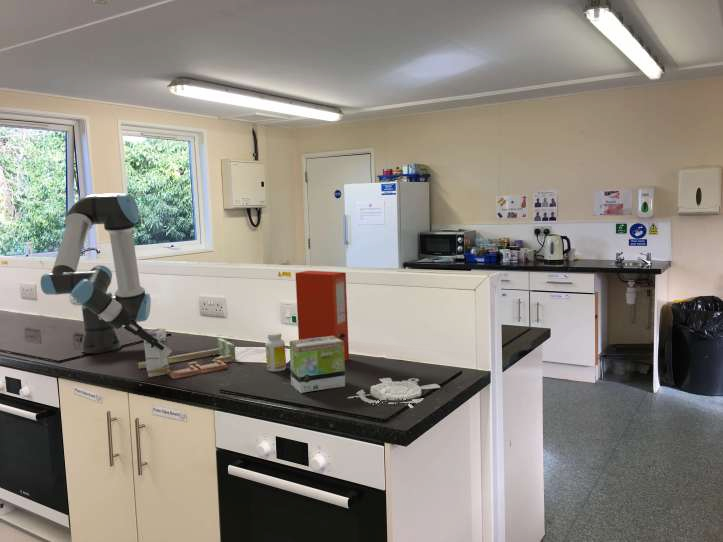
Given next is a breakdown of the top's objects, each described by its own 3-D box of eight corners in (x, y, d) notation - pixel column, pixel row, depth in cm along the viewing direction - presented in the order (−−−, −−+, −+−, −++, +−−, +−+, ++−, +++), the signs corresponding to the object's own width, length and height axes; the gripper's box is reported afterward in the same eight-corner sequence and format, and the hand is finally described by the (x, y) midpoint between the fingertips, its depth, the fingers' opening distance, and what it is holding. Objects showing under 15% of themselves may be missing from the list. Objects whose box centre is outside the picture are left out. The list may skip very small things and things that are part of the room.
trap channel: (138, 368, 220) (137, 351, 219) (221, 352, 237) (220, 337, 236) (155, 382, 200) (153, 365, 200) (244, 364, 218) (243, 348, 217)
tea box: (300, 394, 182) (298, 347, 180) (290, 385, 191) (288, 340, 189) (346, 386, 188) (344, 340, 186) (335, 378, 197) (332, 334, 195)
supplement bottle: (289, 367, 212) (287, 331, 210) (281, 372, 206) (278, 336, 204) (272, 366, 214) (270, 331, 213) (263, 371, 208) (261, 335, 206)
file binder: (313, 353, 230) (309, 270, 226) (349, 358, 220) (345, 272, 216) (299, 358, 224) (294, 272, 220) (335, 364, 213) (331, 275, 209)
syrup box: (161, 372, 213) (157, 332, 211) (146, 372, 214) (142, 332, 212) (169, 367, 218) (166, 328, 216) (154, 367, 219) (151, 328, 218)
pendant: (341, 403, 174) (340, 398, 174) (386, 376, 198) (386, 372, 198) (407, 414, 164) (407, 409, 163) (446, 384, 188) (446, 380, 187)
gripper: (101, 318, 214) (151, 354, 225) (114, 327, 197) (167, 366, 207) (115, 301, 216) (164, 338, 227) (129, 309, 199) (181, 348, 209)
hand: (165, 351), depth 217 cm, fingers open, 8 cm apart
